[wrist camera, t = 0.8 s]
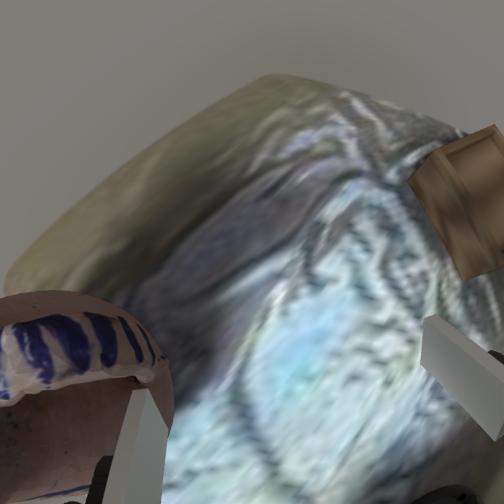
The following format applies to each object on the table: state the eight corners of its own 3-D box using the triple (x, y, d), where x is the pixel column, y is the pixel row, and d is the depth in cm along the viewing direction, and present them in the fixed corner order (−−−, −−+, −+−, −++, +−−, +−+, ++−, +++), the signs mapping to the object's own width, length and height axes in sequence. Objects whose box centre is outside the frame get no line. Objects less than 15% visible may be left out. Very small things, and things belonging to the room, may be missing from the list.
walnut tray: (517, 234, 33) (550, 216, 26) (463, 281, 32) (501, 266, 25) (468, 152, 37) (494, 124, 30) (407, 181, 35) (433, 150, 28)
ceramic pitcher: (29, 351, 30) (-146, 332, 6) (157, 252, 33) (-1, 98, 9) (104, 478, 26) (-41, 576, 2) (255, 392, 29) (239, 552, 5)
